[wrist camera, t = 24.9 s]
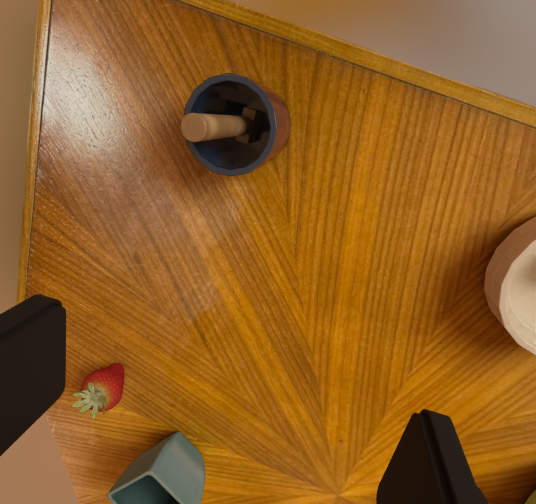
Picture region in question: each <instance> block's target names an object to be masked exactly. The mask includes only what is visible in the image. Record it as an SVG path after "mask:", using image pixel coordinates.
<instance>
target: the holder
mask: <svg viewBox="0 0 536 504" xmlns="http://www.w3.org/2000/svg"><path fill="white" fill-rule="evenodd" d="M244 107H248V108H253V109H256V110H259V111H262V112H263V113H262V117H261V120H260V124H259V127H258V131H257V135H256V138H255V142H253V143H249V144H246V143H243V142H240V141H237V140H236V136H235V137H228V138H221V139H213V140H206V141H199V142H191V141H189V140H187V139H186V142H187V145H188V147H189V149H190V150H191V152H192V153H193V155H194V156H195V158H196V159H197V161H198V162H200V163H201V164H202V165H204V166H205V167H206V168H208V169H209V170H211V171H212V172H214V173H218V174H222V175H226V176H235V175H241V174H247V173H249V172H251V171H253V170H254V169H256V168H258V167H260V166H261V165H263V164H265V163H267V162H268V161H270V160H271V159H273V158H274V157H276V156H278V155H279V153H280V152H281V151H282V150H283V148H284V147H285V145H286V143H287V141H288V138H289V134H290V125H291V124H290V116H289V112H288V110H287V107H286V105H285V103H284V102H283V100H282V99H281V97H280V96H278V95H277V94H276V93H275V92H273V91H272V90H270V89H269V88H268V87H266V86H264V85H262V84H260V83H258V82H255V81H253V80H251V79H249V78H247V77H244V76H240V75H235V74H231V73H225V74H221V75H217V76H213V77H210V78H208V79H206V80H205V81H204V82H203V83H201V84H200V85H199V86H198V87H196V88H195V90H194V91H193V93H192V94H191V96H190V98H189V100H188V102H187V104H186V107H185V112H184V116H185V115H187V114H189V113H202V114H217V115H233V116H242V113H243V109H244Z"/></svg>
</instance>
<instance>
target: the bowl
mask: <svg viewBox="0 0 536 504" xmlns="http://www.w3.org/2000/svg"><path fill="white" fill-rule="evenodd" d="M484 292H485V295H486V299H487V302H488V305H489V309H490V310H491V312H492V313H493V314H494V315H495V317H496V318H497V319H498V320H499V322H500V323H501V324H502V325H503V327H504V328H505V329H506V330H507V332H508V333H509V334H510V335H511V336H512V338H513V339H514V340H515V341H516V343H517V344H518V345H520V346H521V347H523V348H525V349H526V350H528V351H529V352H531V353H533V354H534V355H536V216H535V217H534V218H532V219H530V220H529V221H527V222H525V223H524V224H522V225H521V226H519V227H517V228H516V229H514V230H513V231H512V232H511V233H510V234H509V235H508V236H507V237H506V238H505V240H504V241H503V242H502V243H501V244H500V245H499V246H498V247H497V248H496V250H495V252H494V254H493V256H492V258H491V260H490V262H489V264H488V266H487V268H486V274H485V284H484Z"/></svg>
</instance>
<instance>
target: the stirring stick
mask: <svg viewBox="0 0 536 504" xmlns="http://www.w3.org/2000/svg"><path fill="white" fill-rule="evenodd" d="M262 113H263V112H262V111H259V110H256V109H253V108H248V107H244V109H243V113H242V116H233V115H217V114H202V113H189V114H187V115H185V116H184V117H183V119H182V121H181V125H180V127H181V132H182V134H183V136H184V137H185V138H186V139H187V140H189V141H191V142H199V141H206V140H213V139H221V138H228V137H235V136H236V140H237V141H240V142H243V143H246V144H249V143H253V142H255V138H256V135H257V131H258V127H259V124H260V120H261V117H262Z"/></svg>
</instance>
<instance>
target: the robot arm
mask: <svg viewBox="0 0 536 504" xmlns="http://www.w3.org/2000/svg"><path fill="white" fill-rule="evenodd" d="M65 374H66V310H65V308H64V307H62V303H61V302H60V301H59V300H57V299H54V298H50V297H47V296H44V295H40V294H36V295H34V296H32V297H30V298H28V299H26V300H25V301H23V302H21V303H19V304H18V305H16V306H14V307H13V308H11V309H9V310H7V311H5V312H4V313H2V314H0V456H1V455H2V454H3V453H4V452H5V451H6V450H7V449H8V448H9V447H10V446H11V445H12V444H13V443H14V442H15V441H16V440H17V439H18V438H19V437H20V436H21V435H22V434H23V433H24V432H25V431H26V430H27V429H28V428H29V427H30V426H31V425H32V424H33V423H34V422H35V421H36V420H37V419H38V418H40V417H41V416H42V414H44V413H45V412H46V411H47V410H48V409H49V408H50V407H51V406H52V405H53V404H54V403H55V402H56V401H57V400H58V399H59V397H60V396H61V395H62V393H63V391H64V388H65ZM376 501H377V504H488V503H487V501H486V498H485V497H484V495H483V493H482V491H481V490H480V489H479V488H478V487H477V486H476V483H475V481H474V478H473V476H472V473H471V470H470V468H469V465H468V462H467V460H466V457H465V455H464V452H463V449H462V447H461V444H460V441H459V439H458V436H457V433H456V431H455V428H454V426H453V423H452V421H451V419H450V417H448V416H446V415H443V414H440V413H436V412H433V411H429V410H426V409H423V410H422V411H421V412H420V414H418V413H414V414H413V415H412V416H411V418H410V420H409V422H408V425H407V427H406V429H405V431H404V433H403V435H402V437H401V439H400V441H399V444H398V446H397V448H396V450H395V452H394V454H393V456H392V458H391V461H390V463H389V465H388V467H387V469H386V471H385V473H384V475H383V477H382V480H381V482H380V484H379V486H378V490H377V498H376Z"/></svg>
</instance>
